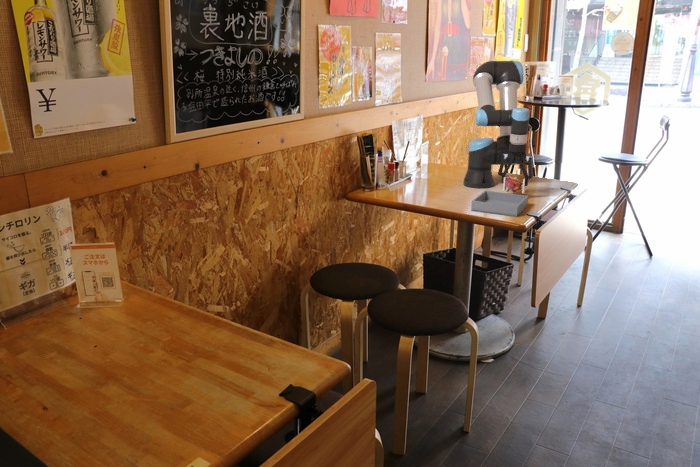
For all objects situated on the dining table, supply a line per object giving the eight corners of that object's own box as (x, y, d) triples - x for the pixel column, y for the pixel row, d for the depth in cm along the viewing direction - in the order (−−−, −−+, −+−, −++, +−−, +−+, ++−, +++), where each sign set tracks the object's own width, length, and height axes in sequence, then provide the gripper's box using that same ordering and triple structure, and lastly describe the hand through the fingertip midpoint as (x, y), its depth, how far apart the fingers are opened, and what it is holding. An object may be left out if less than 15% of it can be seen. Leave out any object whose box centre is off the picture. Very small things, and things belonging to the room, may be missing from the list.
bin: (471, 210, 248) (471, 200, 247) (484, 200, 265) (485, 190, 263) (516, 217, 239) (517, 206, 238) (527, 205, 256) (528, 195, 254)
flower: (507, 192, 261) (518, 178, 259) (495, 183, 268) (506, 169, 267) (519, 200, 267) (530, 187, 265) (507, 192, 274) (517, 178, 272)
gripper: (492, 142, 262) (489, 190, 269) (540, 146, 252) (534, 196, 260) (497, 139, 268) (493, 186, 276) (543, 143, 258) (538, 192, 266)
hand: (513, 191), depth 268 cm, fingers closed on flower, 8 cm apart
